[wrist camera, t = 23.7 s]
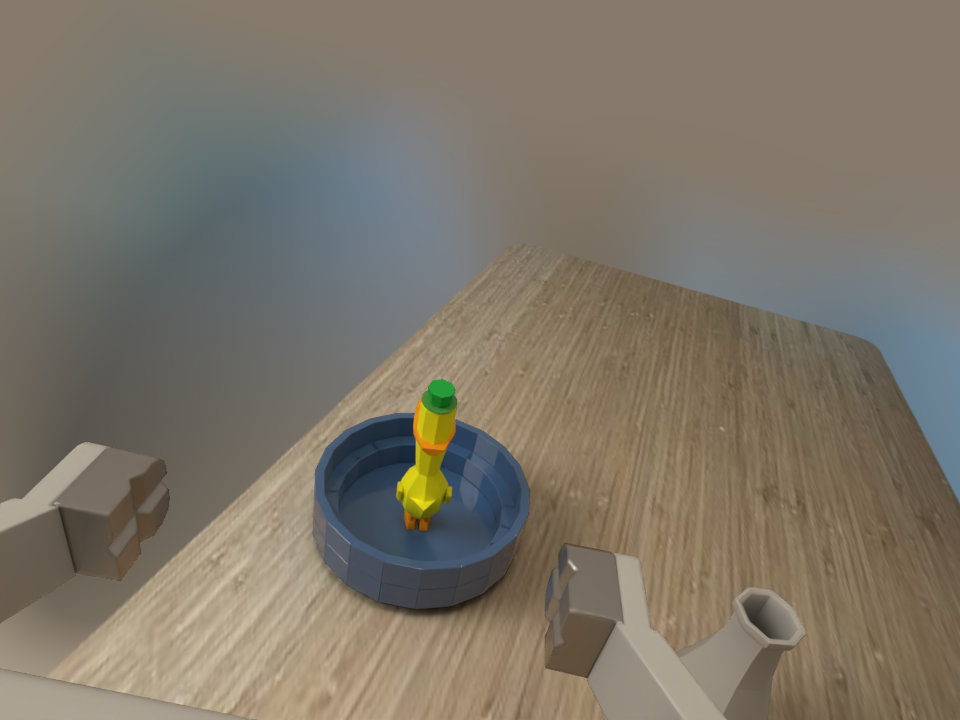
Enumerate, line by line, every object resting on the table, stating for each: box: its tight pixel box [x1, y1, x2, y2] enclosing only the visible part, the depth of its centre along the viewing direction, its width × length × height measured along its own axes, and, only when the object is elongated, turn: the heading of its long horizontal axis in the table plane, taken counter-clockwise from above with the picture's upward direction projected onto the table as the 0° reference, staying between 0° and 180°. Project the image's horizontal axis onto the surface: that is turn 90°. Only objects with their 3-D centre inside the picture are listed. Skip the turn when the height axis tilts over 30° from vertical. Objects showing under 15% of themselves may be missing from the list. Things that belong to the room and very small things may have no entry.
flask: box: [675, 587, 807, 720], centre depth 32 cm, size 7×7×10 cm
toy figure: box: [396, 379, 457, 532], centre depth 39 cm, size 7×4×12 cm, turn 3°
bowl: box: [313, 413, 530, 609], centre depth 41 cm, size 14×14×4 cm
